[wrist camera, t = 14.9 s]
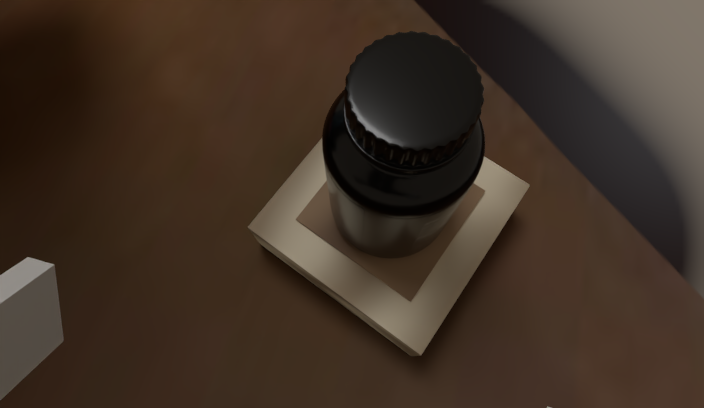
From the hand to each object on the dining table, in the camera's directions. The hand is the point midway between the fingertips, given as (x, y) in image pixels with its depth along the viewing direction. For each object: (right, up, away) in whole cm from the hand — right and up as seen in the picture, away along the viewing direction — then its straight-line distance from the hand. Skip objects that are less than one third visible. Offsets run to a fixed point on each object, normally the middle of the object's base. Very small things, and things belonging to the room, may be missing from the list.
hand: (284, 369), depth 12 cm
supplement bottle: (+4, +4, +15) cm, 16 cm away
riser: (+4, +3, +19) cm, 19 cm away
